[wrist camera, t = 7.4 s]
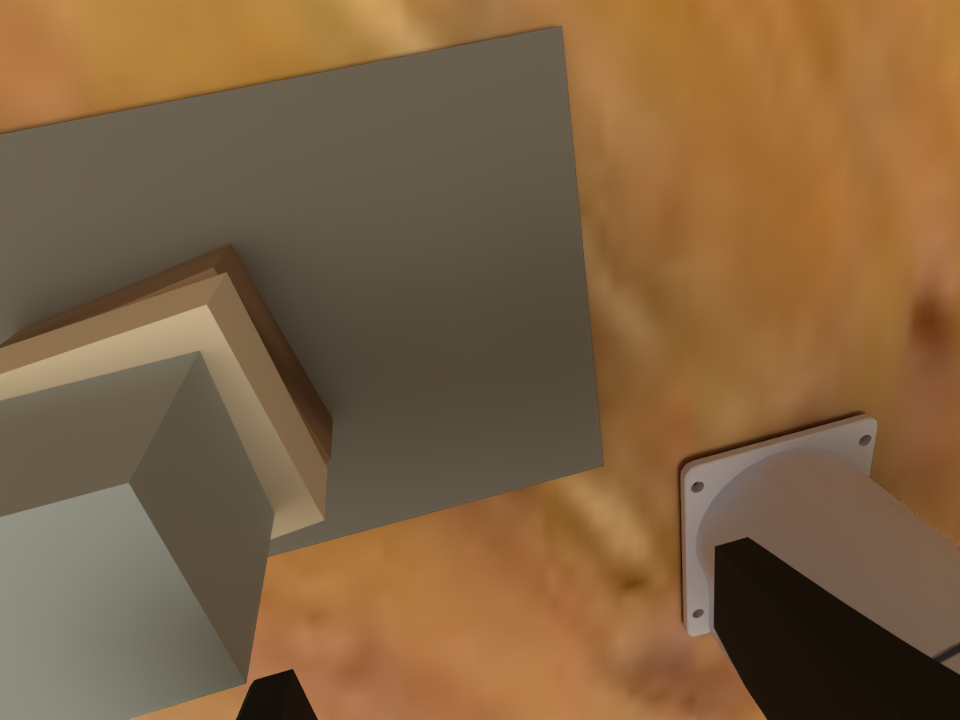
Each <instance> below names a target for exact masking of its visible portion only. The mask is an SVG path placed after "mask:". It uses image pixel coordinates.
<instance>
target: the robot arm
mask: <svg viewBox="0 0 960 720" xmlns="http://www.w3.org/2000/svg"><path fill="white" fill-rule="evenodd" d="M877 426H878V425H877V421H876V420H875V419H874V418H872V417H871V416H869V415H867V414H862V415H858V416H854V417H851V418H847V419H843V420H840V421H836V422H833V423H829V424H825V425H822V426H818V427H814V428H811V429H807V430H803V431H800V432H796V433H792V434H789V435H785V436H781V437H778V438H774V439H771V440H767V441H763V442H760V443H756V444H752V445H749V446H745V447H741V448H738V449H734V450H730V451H727V452H723V453H719V454H716V455H712V456H709V457H705V458H701V459H698V460H694V461H691V462H689V463H687V464H686V465H685V466H684V467H683V469H682V470H681V475H680V477H681V524H682V570H683V617H684V628H685V630H686V632H687V633H688V634H689V635H690V636H700V635H703V634H706V633H709V632H711V633H712V635H713V637H714V638H715V640H716V641H717V643H718V644H719V646H720V647H721V649H722V650H723V652H724V654H725V655H726V657H727V658H728V660H729V661H730V663H731V664H732V666H733V667H734V669H735V671H736V672H737V674H738V675H739V677H740V678H741V680H742V681H743V683H744V685H745V687H746V688H747V690H748V691H749V693H750V694H751V696H752V697H753V699H754V700H755V702H756V703H757V705H758V706H759V708H760V709H761V711H762V712H763V714H764V715H765V717H766V718H767V720H960V548H959V547H958V546H957V545H956V544H954V543H953V542H952V541H950V540H949V539H948V538H947V537H945V536H944V535H943V534H941V533H940V532H939V531H938V530H936V529H935V528H934V527H932V526H931V525H930V524H928V523H927V522H926V521H925V520H923V519H922V518H921V517H919V516H918V515H917V514H916V513H914V512H913V511H912V510H910V509H909V508H908V507H907V506H905V505H904V504H903V503H901V502H900V501H899V500H898V499H896V498H895V497H894V496H892V495H891V494H890V493H889V492H887V491H886V490H885V489H883V488H882V487H881V486H880V485H878V484H877V483H876V482H874V481H873V480H872V479H870V478H869V476H870V470H871V463H872V457H873V451H874V445H875V439H876V433H877ZM696 482H698V483H697V484H696V485H694V486H692V485H693V484H694V483H696ZM236 720H318V719H317V717H316V715H315V713H314V711H313V709H312V707H311V705H310V703H309V701H308V699H307V697H306V695H305V693H304V691H303V689H302V687H301V685H300V682H299V680H298V678H297V676H296V674H295V672H294V670H293V669H291V670H288V671H284V672H281V673H277V674H274V675H270V676H267V677H263V678H260V679H257V680H254V682H253V683H252V684H251V686H250V687H249V690H248V692H247V695H246V697H245V700H244V702H243V704H242V707H241V709H240V712H239V714H238V716H237V719H236Z"/></svg>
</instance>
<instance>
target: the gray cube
mask: <svg viewBox="0 0 960 720" xmlns="http://www.w3.org/2000/svg"><path fill="white" fill-rule="evenodd" d="M274 515H275V514H274V512H273V510H272V508H271V506H270V503H269V501H268V499H267V497H266V495H265V492H264V490H263V488H262V486H261V484H260V481H259V479H258V477H257V475H256V473H255V471H254V468H253V466H252V464H251V462H250V460H249V457H248V455H247V453H246V451H245V449H244V446H243V444H242V442H241V440H240V438H239V435H238V433H237V431H236V429H235V427H234V425H233V422H232V420H231V418H230V416H229V414H228V411H227V409H226V407H225V405H224V403H223V400H222V398H221V396H220V394H219V392H218V389H217V387H216V385H215V383H214V381H213V379H212V376H211V374H210V372H209V370H208V368H207V365H206V363H205V361H204V359H203V357H202V354H201V352H200V351H196V352H192V353H188V354H184V355H180V356H176V357H172V358H168V359H164V360H160V361H156V362H152V363H148V364H144V365H140V366H136V367H132V368H128V369H124V370H120V371H116V372H112V373H108V374H104V375H100V376H96V377H92V378H88V379H84V380H80V381H76V382H72V383H68V384H64V385H60V386H56V387H52V388H48V389H44V390H41V391H37V392H33V393H29V394H25V395H21V396H17V397H13V398H9V399H5V400H1V401H0V720H127V719H130V718H134V717H137V716H140V715H143V714H147V713H150V712H153V711H157V710H160V709H163V708H167V707H170V706H173V705H177V704H180V703H183V702H186V701H190V700H193V699H196V698H200V697H203V696H206V695H210V694H213V693H216V692H219V691H223V690H226V689H229V688H233V687H236V686H239V685H243V684H246V682H247V676H248V670H249V664H250V658H251V652H252V646H253V640H254V634H255V628H256V622H257V616H258V610H259V604H260V599H261V593H262V587H263V581H264V575H265V569H266V563H267V557H268V551H269V545H270V539H271V533H272V527H273V521H274Z"/></svg>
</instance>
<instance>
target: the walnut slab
mask: <svg viewBox="0 0 960 720" xmlns="http://www.w3.org/2000/svg"><path fill="white" fill-rule="evenodd" d="M226 272H227V274H228V276H229V278H230V280H231V282H232V284H233V286H234V287H235V289H236V291H237V293H238V295H239V297H240V299H241V301H242V303H243V305H244V307H245V309H246V311H247V313H248V315H249V317H250V319H251V321H252V323H253V324H254V326H255V328H256V330H257V332H258V334H259V336H260V338H261V340H262V342H263V344H264V346H265V348H266V350H267V352H268V354H269V356H270V358H271V360H272V361H273V363H274V365H275V367H276V369H277V371H278V373H279V375H280V377H281V379H282V381H283V383H284V385H285V387H286V389H287V391H288V393H289V395H290V397H291V398H292V400H293V402H294V404H295V406H296V408H297V410H298V412H299V414H300V416H301V418H302V420H303V422H304V424H305V426H306V428H307V430H308V432H309V434H310V435H311V437H312V439H313V441H314V443H315V445H316V447H317V449H318V451H319V453H320V455H321V457H322V459H323V461H324V463H325V462H327V461H330V460H331V451H332V429H333V419H332V417H331V415H330V413H329V412H328V410H327V408H326V407H325V405H324V403H323V402H322V400H321V398H320V396H319V395H318V393H317V391H316V390H315V388H314V386H313V384H312V383H311V381H310V379H309V378H308V376H307V374H306V372H305V371H304V369H303V367H302V366H301V364H300V362H299V360H298V359H297V357H296V355H295V354H294V352H293V350H292V348H291V347H290V345H289V343H288V342H287V340H286V338H285V336H284V335H283V333H282V331H281V330H280V328H279V326H278V324H277V323H276V321H275V319H274V318H273V316H272V314H271V312H270V311H269V309H268V307H267V306H266V304H265V302H264V300H263V299H262V297H261V295H260V294H259V292H258V290H257V288H256V287H255V285H254V283H253V282H252V280H251V278H250V276H249V275H248V273H247V271H246V270H245V268H244V266H243V264H242V263H241V261H240V259H239V258H238V256H237V254H236V252H235V251H234V249H233V247H232V246H231V244H228V245H225V246H223V247H221V248H218V249H216V250H213V251H211V252H208V253H206V254H204V255H201V256H199V257H196V258H194V259H192V260H189V261H187V262H184V263H182V264H179V265H177V266H175V267H172V268H170V269H167V270H165V271H163V272H160V273H158V274H155V275H153V276H150V277H148V278H146V279H143V280H141V281H138V282H136V283H134V284H131V285H129V286H126V287H124V288H122V289H119V290H117V291H114V292H112V293H109V294H107V295H105V296H102V297H100V298H97V299H95V300H93V301H90V302H88V303H85V304H83V305H80V306H78V307H76V308H73V309H71V310H68V311H66V312H64V313H61V314H59V315H56V316H54V317H51V318H49V319H47V320H44V321H42V322H39V323H37V324H35V325H32V326H30V327H27V328H25V329H23V330H20V331H18V332H16V333H15V334H14V335H12V336H11V337H10V338H9V339H7V340H6V341H5V342H3V343H2V344H1V345H0V348H2V347H5V346H8V345H11V344H14V343H17V342H20V341H23V340H26V339H29V338H32V337H35V336H38V335H41V334H44V333H47V332H50V331H53V330H56V329H59V328H62V327H65V326H68V325H71V324H74V323H77V322H80V321H83V320H86V319H89V318H92V317H95V316H98V315H101V314H104V313H107V312H110V311H113V310H116V309H118V308H121V307H124V306H127V305H130V304H133V303H136V302H139V301H142V300H145V299H148V298H151V297H154V296H157V295H160V294H163V293H166V292H169V291H172V290H175V289H178V288H181V287H184V286H187V285H190V284H193V283H196V282H199V281H202V280H205V279H208V278H211V277H214V276H217V275H220V274H223V273H226Z"/></svg>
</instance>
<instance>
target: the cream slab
mask: <svg viewBox="0 0 960 720" xmlns="http://www.w3.org/2000/svg"><path fill="white" fill-rule="evenodd" d="M196 351H200V352H201V354H202V357H203V359H204V361H205V363H206V365H207V368H208V370H209V372H210V374H211V376H212V379H213V381H214V383H215V385H216V387H217V389H218V392H219V394H220V396H221V398H222V400H223V403H224V405H225V407H226V409H227V411H228V414H229V416H230V418H231V420H232V422H233V425H234V427H235V429H236V431H237V433H238V435H239V438H240V440H241V442H242V444H243V446H244V449H245V451H246V453H247V455H248V457H249V460H250V462H251V464H252V466H253V468H254V471H255V473H256V475H257V477H258V479H259V481H260V484H261V486H262V488H263V490H264V492H265V495H266V497H267V499H268V501H269V503H270V506H271V508H272V510H273V512H274V514H275V515H274V521H273V527H272V533H271V539H274V538H276V537H279V536H282V535H285V534H288V533H290V532H293V531H296V530H299V529H302V528H304V527H307V526H310V525H313V524H315V523H318V522H321V521H324V519H325V501H326V483H327V467H326V465H325V463H324V461H323V459H322V457H321V455H320V453H319V451H318V449H317V447H316V445H315V443H314V441H313V439H312V437H311V435H310V434H309V432H308V430H307V428H306V426H305V424H304V422H303V420H302V418H301V416H300V414H299V412H298V410H297V408H296V406H295V404H294V402H293V400H292V398H291V397H290V395H289V393H288V391H287V389H286V387H285V385H284V383H283V381H282V379H281V377H280V375H279V373H278V371H277V369H276V367H275V365H274V363H273V361H272V360H271V358H270V356H269V354H268V352H267V350H266V348H265V346H264V344H263V342H262V340H261V338H260V336H259V334H258V332H257V330H256V328H255V326H254V324H253V323H252V321H251V319H250V317H249V315H248V313H247V311H246V309H245V307H244V305H243V303H242V301H241V299H240V297H239V295H238V293H237V291H236V289H235V287H234V286H233V284H232V282H231V280H230V278H229V276H228V274H227V272H226V273H223V274H220V275H217V276H214V277H211V278H208V279H205V280H202V281H199V282H196V283H193V284H190V285H187V286H184V287H181V288H178V289H175V290H172V291H169V292H166V293H163V294H160V295H157V296H154V297H151V298H148V299H145V300H142V301H139V302H136V303H133V304H130V305H127V306H124V307H121V308H118V309H116V310H113V311H110V312H107V313H104V314H101V315H98V316H95V317H92V318H89V319H86V320H83V321H80V322H77V323H74V324H71V325H68V326H65V327H62V328H59V329H56V330H53V331H50V332H47V333H44V334H41V335H38V336H35V337H32V338H29V339H26V340H23V341H20V342H17V343H14V344H11V345H8V346H5V347H2V348H0V401H1V400H5V399H9V398H13V397H17V396H21V395H25V394H29V393H33V392H37V391H41V390H44V389H48V388H52V387H56V386H60V385H64V384H68V383H72V382H76V381H80V380H84V379H88V378H92V377H96V376H100V375H104V374H108V373H112V372H116V371H120V370H124V369H128V368H132V367H136V366H140V365H144V364H148V363H152V362H156V361H160V360H164V359H168V358H172V357H176V356H180V355H184V354H188V353H192V352H196ZM271 539H270V540H271Z"/></svg>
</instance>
